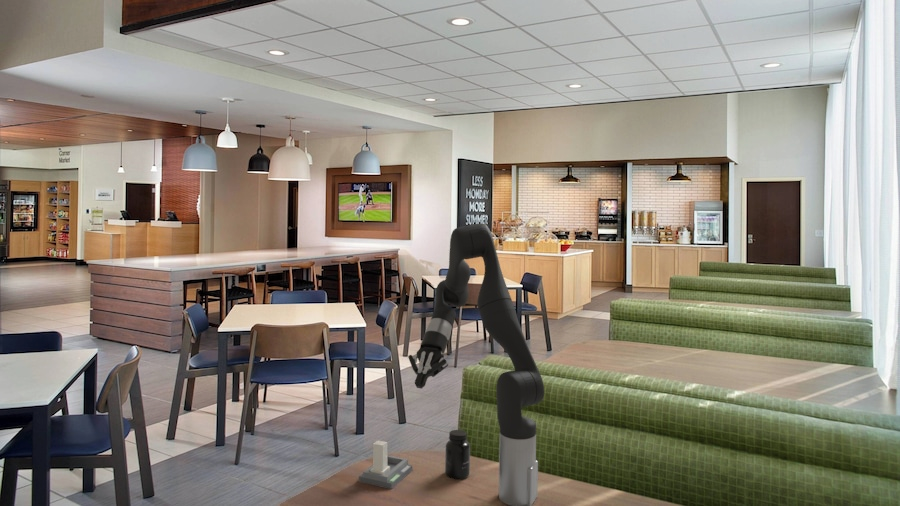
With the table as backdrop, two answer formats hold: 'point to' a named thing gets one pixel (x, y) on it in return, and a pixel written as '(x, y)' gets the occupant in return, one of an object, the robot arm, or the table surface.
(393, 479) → the grey slotted stand
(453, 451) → the supplement bottle
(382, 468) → the block
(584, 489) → the table surface
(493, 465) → the table surface
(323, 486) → the table surface
